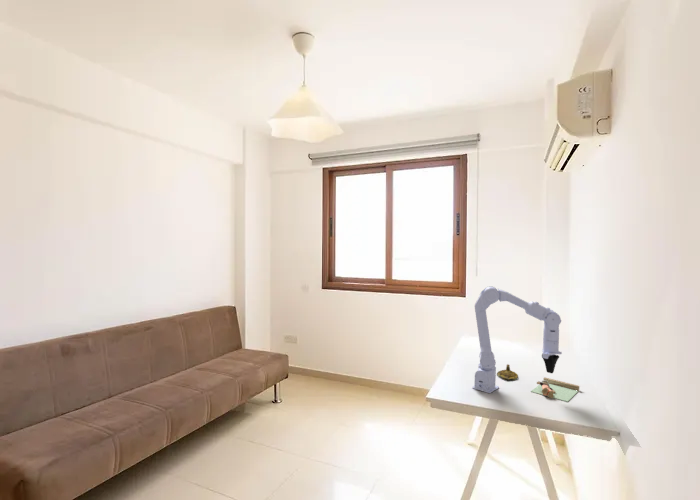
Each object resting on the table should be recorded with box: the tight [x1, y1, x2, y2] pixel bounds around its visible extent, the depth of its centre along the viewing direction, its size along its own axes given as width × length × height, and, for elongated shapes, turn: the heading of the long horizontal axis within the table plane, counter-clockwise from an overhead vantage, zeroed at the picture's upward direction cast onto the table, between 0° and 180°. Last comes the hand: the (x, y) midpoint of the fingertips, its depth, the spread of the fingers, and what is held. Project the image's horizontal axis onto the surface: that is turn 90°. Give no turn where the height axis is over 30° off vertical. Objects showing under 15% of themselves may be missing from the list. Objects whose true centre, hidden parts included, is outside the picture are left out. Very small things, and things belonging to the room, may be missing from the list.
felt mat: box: [530, 384, 579, 403], centre depth 158 cm, size 16×14×1 cm
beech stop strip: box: [542, 377, 580, 392], centre depth 164 cm, size 2×14×2 cm, turn 45°
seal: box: [496, 363, 519, 382], centre depth 177 cm, size 9×5×15 cm
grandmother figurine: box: [536, 379, 556, 399], centre depth 158 cm, size 8×4×13 cm
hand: (550, 372), depth 153 cm, fingers closed
